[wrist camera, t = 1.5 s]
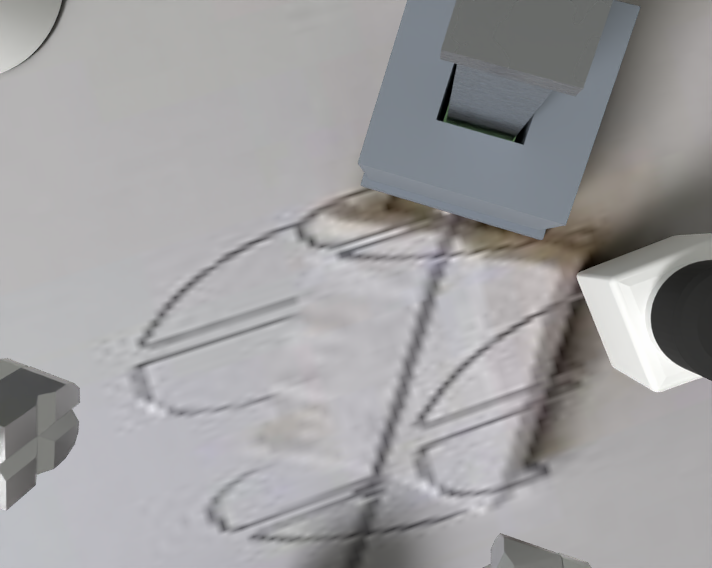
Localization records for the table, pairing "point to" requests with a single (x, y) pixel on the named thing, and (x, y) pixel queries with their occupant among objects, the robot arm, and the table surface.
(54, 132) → the table surface
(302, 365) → the table surface
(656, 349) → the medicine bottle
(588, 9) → the column
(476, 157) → the stand
